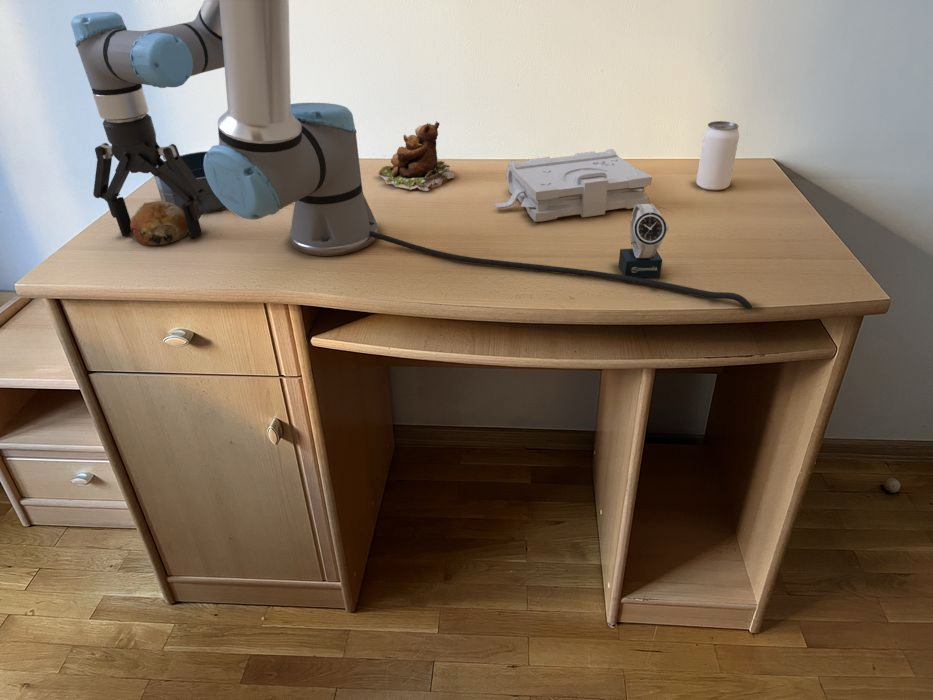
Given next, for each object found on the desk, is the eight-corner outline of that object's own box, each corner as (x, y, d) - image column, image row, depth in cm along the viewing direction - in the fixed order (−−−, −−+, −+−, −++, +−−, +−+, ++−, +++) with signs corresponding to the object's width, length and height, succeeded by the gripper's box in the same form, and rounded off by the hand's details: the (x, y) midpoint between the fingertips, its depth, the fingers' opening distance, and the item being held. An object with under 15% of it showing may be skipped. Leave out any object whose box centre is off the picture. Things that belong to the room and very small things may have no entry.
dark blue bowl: (265, 197, 138) (258, 163, 134) (183, 221, 129) (173, 186, 125) (227, 177, 149) (220, 145, 145) (150, 198, 140) (140, 165, 136)
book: (481, 192, 137) (480, 155, 132) (608, 176, 142) (611, 140, 138) (510, 230, 121) (511, 189, 117) (652, 210, 127) (657, 170, 122)
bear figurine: (414, 163, 153) (410, 108, 146) (464, 176, 144) (462, 119, 138) (369, 180, 144) (363, 122, 138) (419, 196, 136) (415, 135, 129)
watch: (627, 285, 103) (635, 218, 97) (615, 261, 110) (622, 197, 104) (663, 283, 103) (674, 216, 97) (649, 260, 110) (658, 195, 104)
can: (731, 191, 133) (743, 130, 126) (697, 190, 134) (708, 129, 127) (726, 180, 138) (737, 120, 132) (693, 179, 139) (703, 120, 132)
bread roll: (201, 245, 128) (199, 202, 127) (172, 245, 118) (169, 199, 117) (151, 245, 129) (149, 202, 128) (119, 245, 119) (116, 198, 118)
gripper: (206, 111, 113) (234, 228, 125) (71, 109, 116) (111, 224, 128) (185, 124, 107) (216, 245, 119) (43, 122, 110) (88, 241, 122)
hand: (162, 234), depth 124 cm, fingers open, 13 cm apart
